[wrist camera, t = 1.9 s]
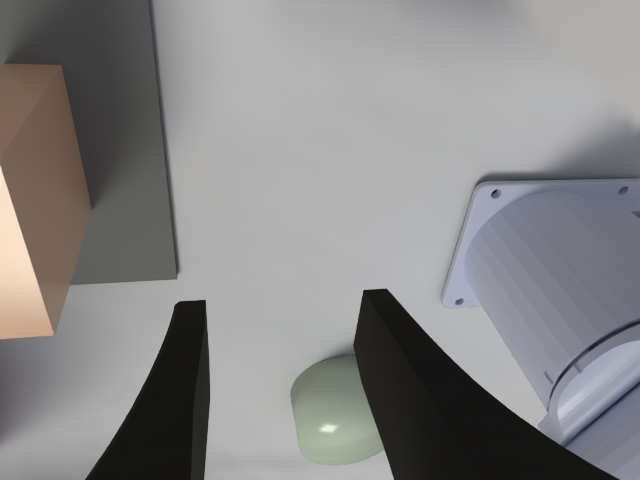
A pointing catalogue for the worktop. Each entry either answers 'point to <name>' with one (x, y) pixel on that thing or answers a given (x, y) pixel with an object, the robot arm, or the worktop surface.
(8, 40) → the mat
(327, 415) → the pale green dome
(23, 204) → the tile
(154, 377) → the robot arm
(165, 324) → the worktop surface
